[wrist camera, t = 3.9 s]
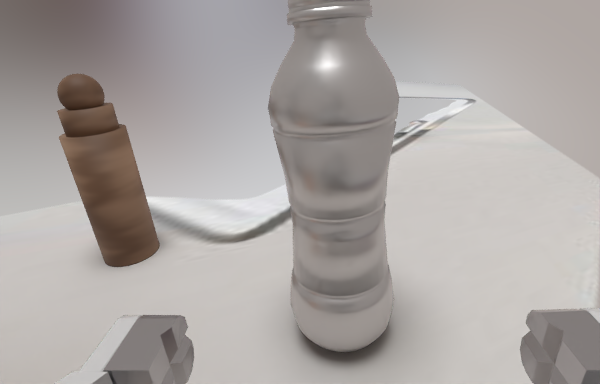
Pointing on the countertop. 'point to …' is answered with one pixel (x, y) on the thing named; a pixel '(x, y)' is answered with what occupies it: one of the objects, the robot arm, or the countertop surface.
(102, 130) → the pepper mill
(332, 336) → the plastic bottle
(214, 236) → the countertop surface
